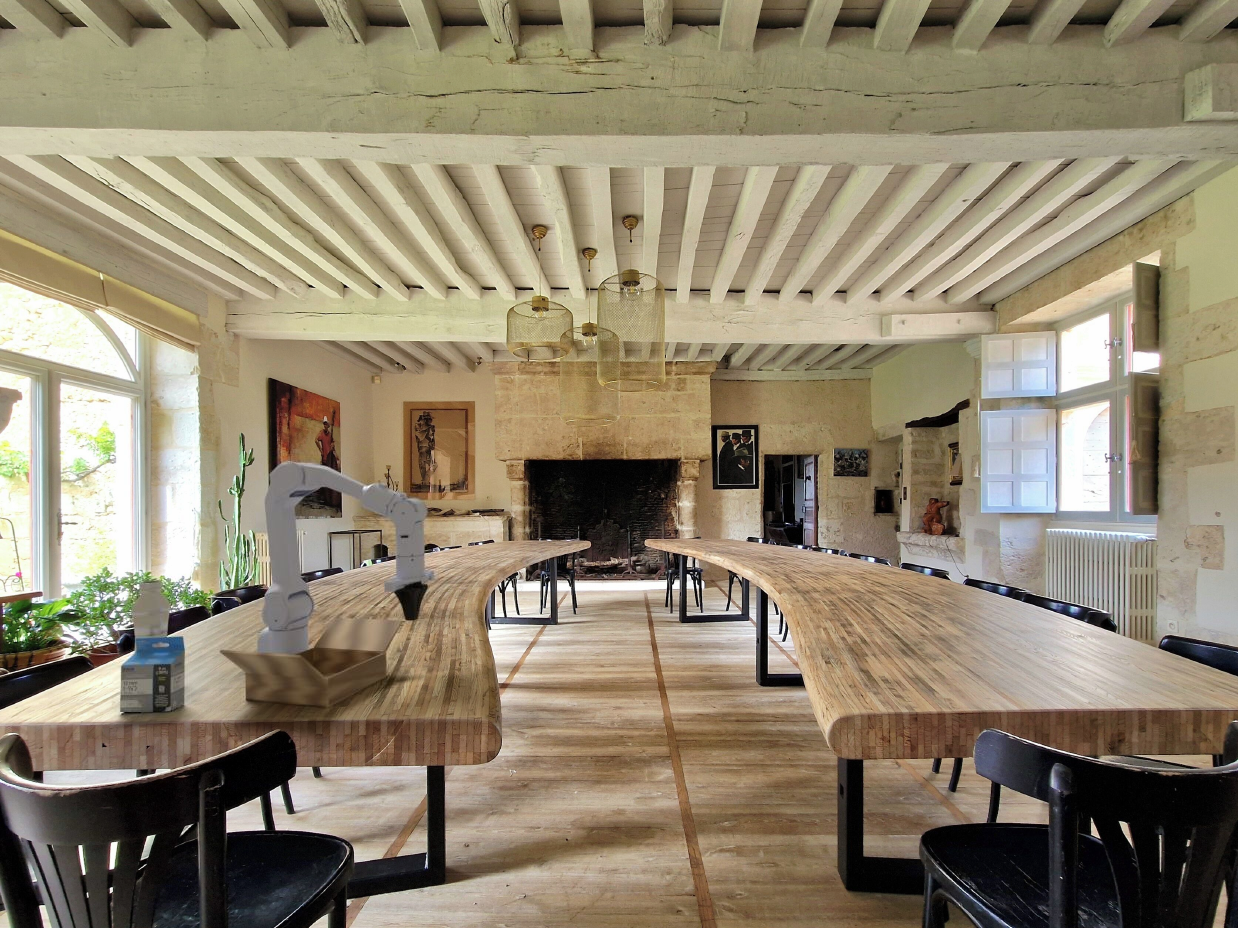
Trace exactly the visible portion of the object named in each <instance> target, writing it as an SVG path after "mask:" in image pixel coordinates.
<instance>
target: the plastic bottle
mask: <svg viewBox="0 0 1238 928" xmlns="http://www.w3.org/2000/svg"><path fill="white" fill-rule="evenodd" d="M162 591H163V581H162V580H159V579H158V580H148V581H147V580H146V581H141V582H139V590H138V592H139V593H140V595H139V596H138V598H137V599H136V600H135V602H134V603H133V605H132V607H131V616H132V617H131V618H132V623H133V629H134V636H135V637H134V652H133V654H134V653H135V652H136V651H137V650H136V638H152V637H168V629H169V628H168V627H169V618H170V613H171V611H170V610H171V603H170V601H169V600H168V599H167V597H166V596H165V595H164V594H163V593H162ZM152 646H153V647H167V646H169V644H167V643H164V644H163V643H162V642H159V643H158V644H153V645H152Z"/></svg>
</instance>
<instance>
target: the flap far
mask: <svg viewBox="0 0 1238 928" xmlns="http://www.w3.org/2000/svg"><path fill="white" fill-rule="evenodd" d="M402 624H403V620H399V619H398V620H397V619H395V620H393V619H377V618H376V619H374V618H373V619H372V618H371V619H370V618H353V617H352V618H350V617H333V619H332V620H331V621H330V623H329V624H328V625H327V627H326V629H325V630H324V631H323V633H322V634H321V635H320V637H319V639H318V640H317V642H316V643H315V644H314V646H313V648H322V649H337V650H353V651H369V652H386V651H387V650H388V648H389V646H390V644H392V641H393V640H394V637H395V636H396V635H397V634H398V633H397V632H398V630H399V629H400V628H401V626H402ZM386 653H387V652H386Z"/></svg>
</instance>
